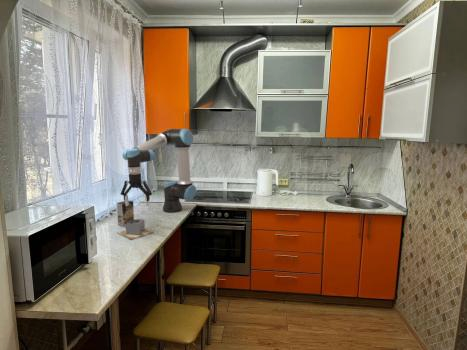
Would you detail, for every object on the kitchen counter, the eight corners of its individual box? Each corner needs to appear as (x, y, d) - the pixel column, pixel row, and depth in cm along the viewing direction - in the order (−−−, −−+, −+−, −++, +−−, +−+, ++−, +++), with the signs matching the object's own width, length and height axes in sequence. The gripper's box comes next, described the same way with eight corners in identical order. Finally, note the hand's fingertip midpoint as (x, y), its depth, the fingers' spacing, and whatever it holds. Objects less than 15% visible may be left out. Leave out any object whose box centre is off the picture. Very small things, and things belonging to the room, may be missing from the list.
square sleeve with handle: (134, 226, 214) (133, 216, 213) (147, 226, 213) (147, 216, 212) (126, 234, 200) (125, 223, 198) (140, 234, 199) (139, 223, 198)
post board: (140, 227, 215) (139, 216, 214) (153, 233, 205) (153, 221, 203) (117, 233, 204) (117, 221, 202) (130, 240, 193) (130, 227, 192)
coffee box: (124, 227, 216) (122, 204, 213) (117, 225, 220) (116, 202, 217) (134, 223, 224) (133, 201, 221) (128, 221, 227) (127, 200, 224)
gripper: (113, 174, 199) (116, 206, 203) (151, 174, 195) (153, 207, 199) (119, 171, 206) (121, 203, 210) (155, 172, 203) (157, 204, 207)
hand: (137, 205), depth 205 cm, fingers open, 13 cm apart
